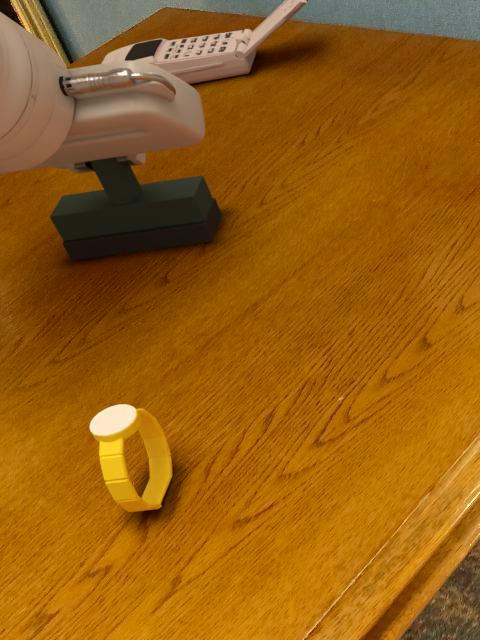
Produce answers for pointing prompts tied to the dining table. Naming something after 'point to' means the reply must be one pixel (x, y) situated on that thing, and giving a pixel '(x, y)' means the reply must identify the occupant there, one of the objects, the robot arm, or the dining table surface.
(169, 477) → the watch
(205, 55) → the mobile phone
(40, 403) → the dining table surface
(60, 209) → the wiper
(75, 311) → the dining table surface
